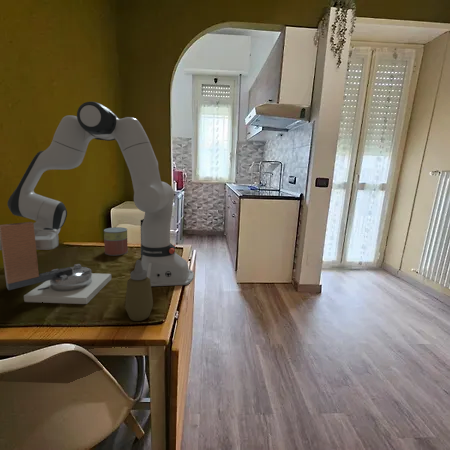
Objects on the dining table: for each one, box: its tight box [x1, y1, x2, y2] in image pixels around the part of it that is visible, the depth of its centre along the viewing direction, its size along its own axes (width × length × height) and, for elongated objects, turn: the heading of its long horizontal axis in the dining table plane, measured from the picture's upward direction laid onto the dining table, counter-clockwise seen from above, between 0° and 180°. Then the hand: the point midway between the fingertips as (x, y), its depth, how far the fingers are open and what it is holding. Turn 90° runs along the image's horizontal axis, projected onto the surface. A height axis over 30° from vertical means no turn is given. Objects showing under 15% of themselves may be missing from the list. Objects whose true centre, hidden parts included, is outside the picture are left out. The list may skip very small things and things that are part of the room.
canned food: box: [103, 226, 129, 256], centre depth 138 cm, size 11×11×12 cm
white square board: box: [23, 272, 112, 305], centre depth 96 cm, size 20×20×2 cm
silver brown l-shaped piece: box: [0, 221, 93, 291], centre depth 89 cm, size 24×13×24 cm, turn 140°
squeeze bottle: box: [125, 259, 154, 322], centre depth 80 cm, size 8×8×18 cm
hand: (8, 249), depth 82 cm, fingers closed
